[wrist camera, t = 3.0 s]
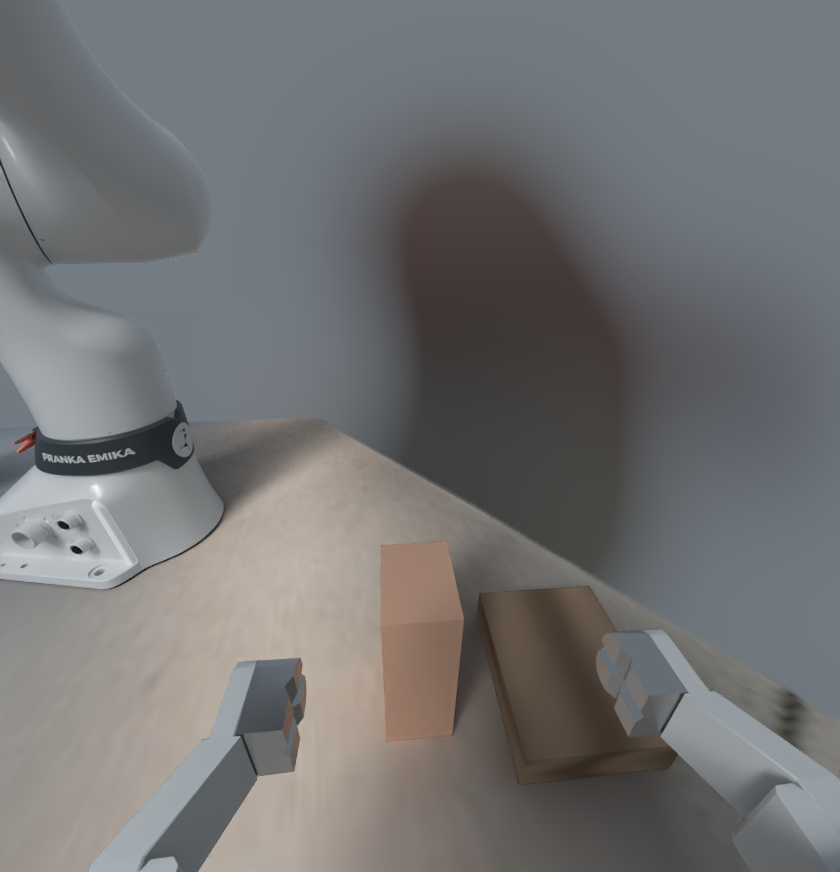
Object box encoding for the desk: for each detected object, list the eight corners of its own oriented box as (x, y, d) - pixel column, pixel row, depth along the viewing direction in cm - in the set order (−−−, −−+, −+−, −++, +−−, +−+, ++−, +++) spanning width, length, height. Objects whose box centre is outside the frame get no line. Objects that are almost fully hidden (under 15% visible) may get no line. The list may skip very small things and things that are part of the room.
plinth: (519, 784, 24) (526, 761, 22) (476, 616, 34) (479, 593, 33) (669, 768, 24) (684, 744, 23) (582, 608, 35) (589, 585, 34)
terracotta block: (386, 741, 26) (380, 625, 20) (385, 655, 31) (381, 545, 25) (452, 735, 26) (463, 619, 20) (440, 651, 31) (447, 541, 26)
